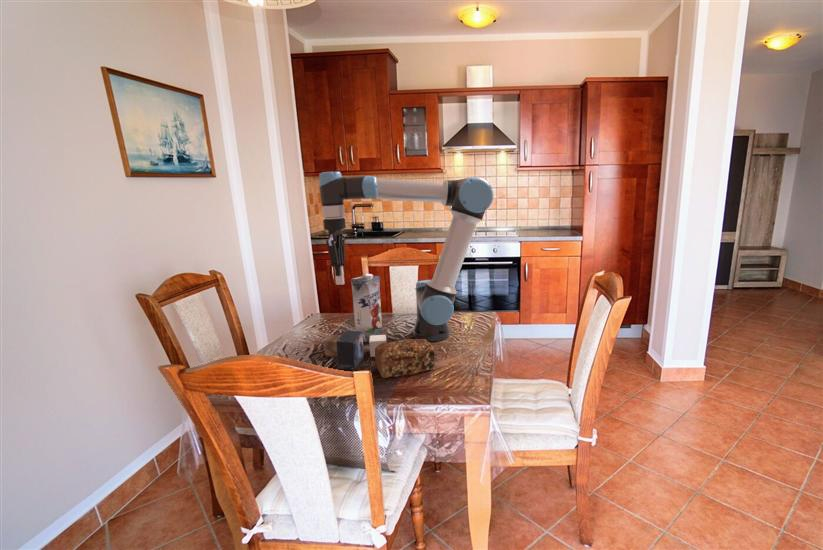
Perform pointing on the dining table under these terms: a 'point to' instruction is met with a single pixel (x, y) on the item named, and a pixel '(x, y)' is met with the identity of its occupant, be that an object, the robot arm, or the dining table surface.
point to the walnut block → (331, 345)
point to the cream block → (376, 343)
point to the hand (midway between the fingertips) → (340, 284)
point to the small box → (350, 350)
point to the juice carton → (367, 305)
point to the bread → (404, 357)
